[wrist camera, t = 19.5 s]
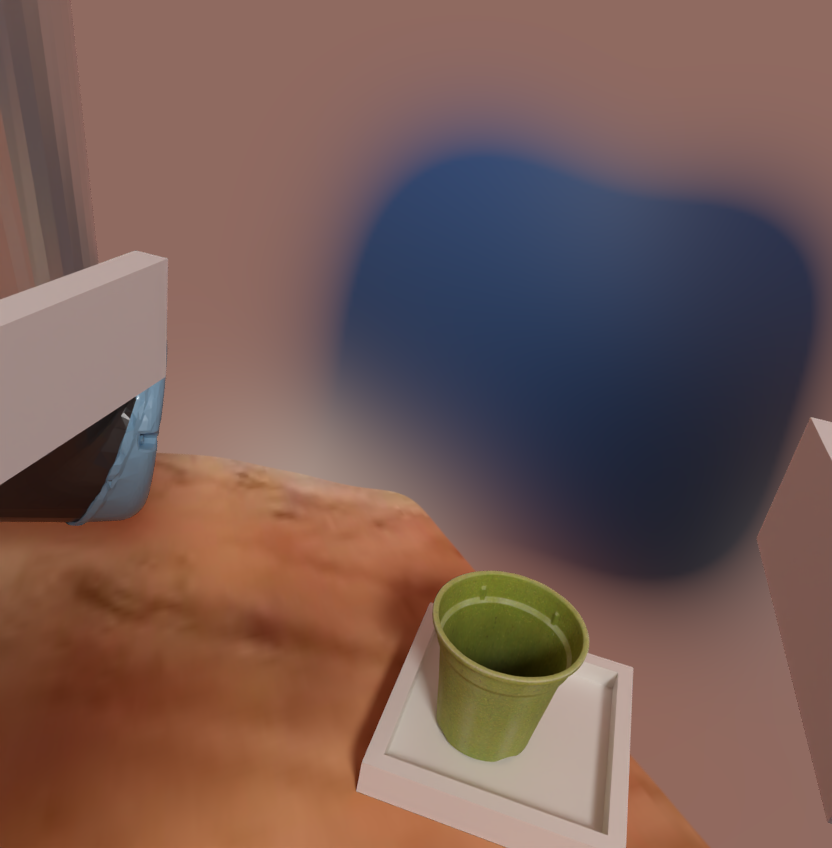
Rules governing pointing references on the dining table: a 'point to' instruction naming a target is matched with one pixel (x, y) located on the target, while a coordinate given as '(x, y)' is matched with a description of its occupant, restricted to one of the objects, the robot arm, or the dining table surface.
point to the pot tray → (510, 760)
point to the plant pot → (501, 659)
